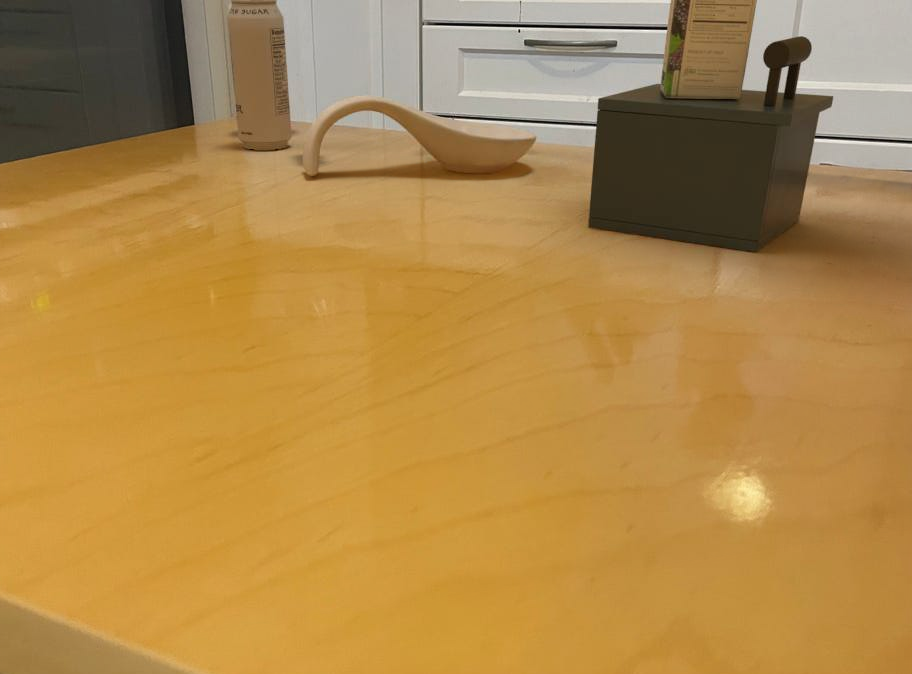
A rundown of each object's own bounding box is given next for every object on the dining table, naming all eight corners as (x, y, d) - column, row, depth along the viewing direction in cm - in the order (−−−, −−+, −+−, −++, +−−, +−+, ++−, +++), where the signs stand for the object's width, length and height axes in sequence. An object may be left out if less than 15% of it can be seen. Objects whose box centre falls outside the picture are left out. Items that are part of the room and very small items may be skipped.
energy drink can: (247, 142, 111) (234, -2, 104) (297, 142, 111) (287, -2, 103) (233, 150, 106) (218, 0, 98) (285, 151, 105) (274, 0, 98)
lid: (831, 107, 73) (845, 35, 70) (790, 126, 64) (804, 45, 62) (655, 93, 80) (662, 28, 77) (597, 109, 71) (603, 36, 69)
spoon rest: (513, 156, 103) (516, 85, 100) (550, 176, 93) (555, 98, 90) (298, 165, 98) (293, 91, 95) (313, 188, 88) (308, 106, 85)
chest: (799, 220, 77) (820, 106, 73) (756, 252, 69) (778, 125, 65) (643, 200, 84) (655, 94, 80) (587, 227, 76) (597, 110, 71)
